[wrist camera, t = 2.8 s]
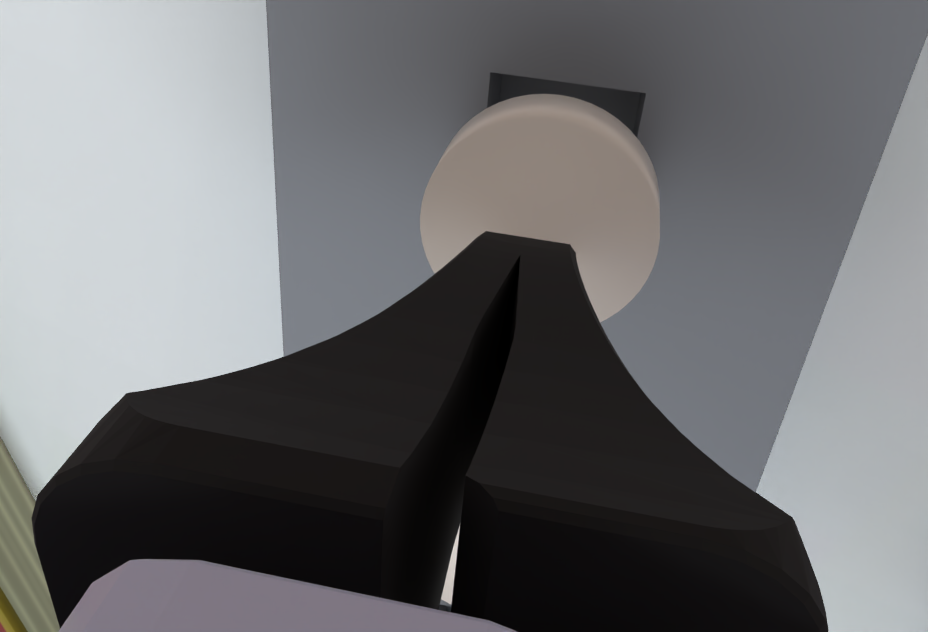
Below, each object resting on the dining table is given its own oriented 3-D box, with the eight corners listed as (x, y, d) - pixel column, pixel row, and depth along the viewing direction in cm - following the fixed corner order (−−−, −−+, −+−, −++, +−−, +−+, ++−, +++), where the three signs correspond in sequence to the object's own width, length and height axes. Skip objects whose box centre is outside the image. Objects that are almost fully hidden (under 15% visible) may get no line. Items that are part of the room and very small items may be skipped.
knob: (679, 75, 15) (684, 137, 13) (637, 264, 18) (634, 351, 15) (464, 46, 16) (426, 101, 13) (449, 235, 18) (414, 314, 15)
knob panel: (902, -48, 17) (946, -17, 14) (654, 678, 30) (654, 760, 27) (315, -114, 18) (261, -97, 15) (328, 608, 31) (299, 681, 29)
